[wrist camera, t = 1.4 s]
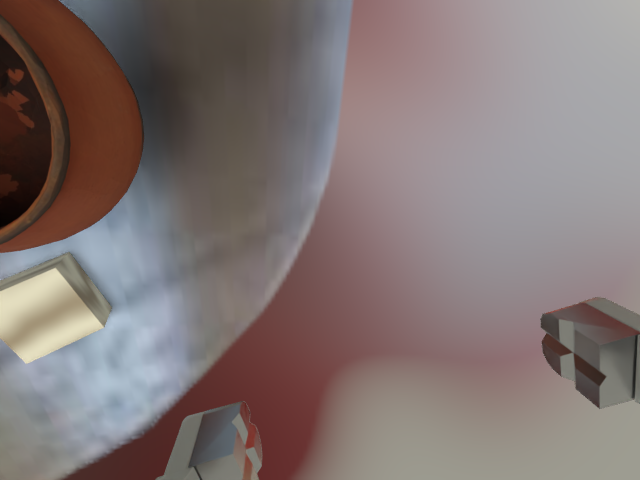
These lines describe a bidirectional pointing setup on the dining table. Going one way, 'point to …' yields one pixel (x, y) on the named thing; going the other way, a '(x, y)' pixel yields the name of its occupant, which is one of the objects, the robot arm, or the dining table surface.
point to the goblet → (60, 125)
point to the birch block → (49, 308)
